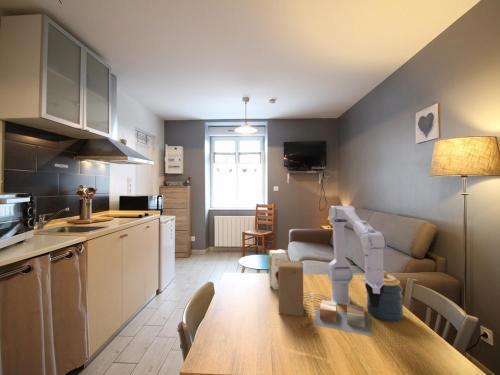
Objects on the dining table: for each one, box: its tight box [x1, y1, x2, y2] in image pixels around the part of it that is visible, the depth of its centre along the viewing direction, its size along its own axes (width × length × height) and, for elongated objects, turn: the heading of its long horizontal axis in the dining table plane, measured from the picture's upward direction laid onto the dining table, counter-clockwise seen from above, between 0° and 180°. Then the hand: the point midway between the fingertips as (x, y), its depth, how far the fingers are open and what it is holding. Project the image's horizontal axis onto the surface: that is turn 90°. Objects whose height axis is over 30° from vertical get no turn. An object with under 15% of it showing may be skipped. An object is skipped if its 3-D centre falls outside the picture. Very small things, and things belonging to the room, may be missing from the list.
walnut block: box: [346, 303, 366, 327], centre depth 92 cm, size 4×6×8 cm
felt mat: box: [312, 307, 373, 337], centre depth 92 cm, size 14×20×1 cm
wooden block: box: [277, 259, 304, 317], centre depth 101 cm, size 10×10×20 cm
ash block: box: [319, 299, 338, 322], centre depth 96 cm, size 4×6×8 cm
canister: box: [366, 270, 404, 323], centre depth 97 cm, size 13×13×18 cm
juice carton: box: [268, 248, 288, 291], centre depth 126 cm, size 8×9×19 cm
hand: (374, 306), depth 83 cm, fingers closed
